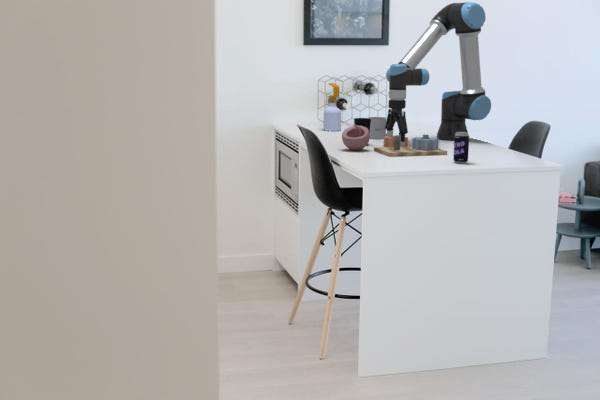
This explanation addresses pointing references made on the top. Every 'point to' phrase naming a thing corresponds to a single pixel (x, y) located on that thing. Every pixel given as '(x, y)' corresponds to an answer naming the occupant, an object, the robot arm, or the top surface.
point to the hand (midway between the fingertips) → (395, 147)
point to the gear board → (407, 150)
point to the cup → (363, 123)
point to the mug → (377, 128)
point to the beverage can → (461, 147)
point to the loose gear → (392, 141)
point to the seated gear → (425, 143)
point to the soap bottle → (333, 112)
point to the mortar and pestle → (355, 137)
